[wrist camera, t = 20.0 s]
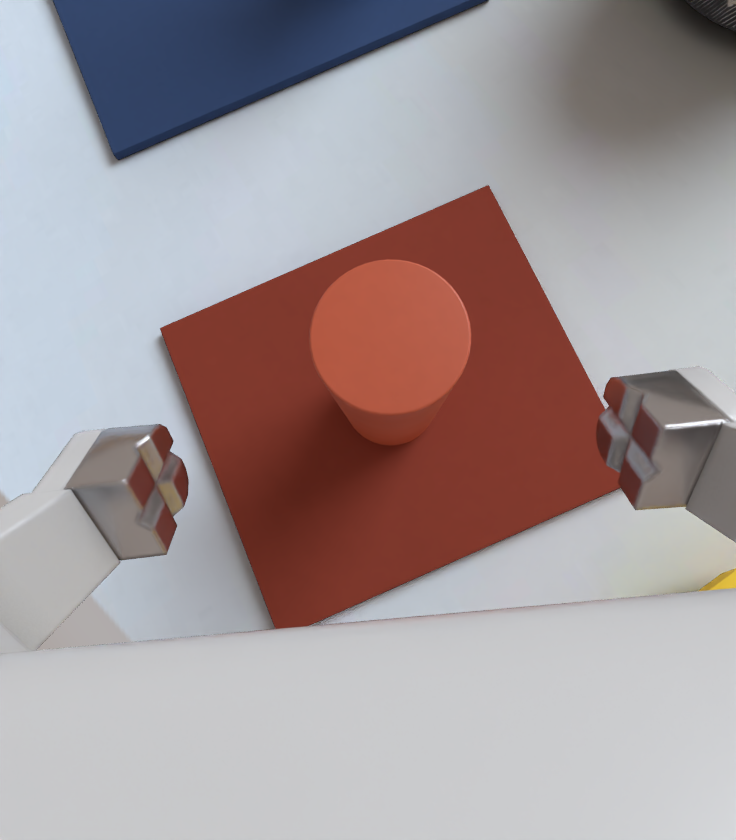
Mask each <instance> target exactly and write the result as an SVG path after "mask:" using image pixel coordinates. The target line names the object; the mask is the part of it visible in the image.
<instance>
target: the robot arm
mask: <svg viewBox="0 0 736 840" xmlns="http://www.w3.org/2000/svg"><path fill="white" fill-rule="evenodd" d="M603 397H604V399H605V400H606V402H607V403H608V405H609V407H608V408H607V409H606V410H605V411H604V412H603V413H602V414H601V415H600V416H599V417H598V422H597V427H596V441H597V447H598V450H599V453H600V455H601V457H602V459H603V460H604V462H605V464H606V465H607V466H609V467H610V468H612V469H614V470H616V471H618V472H620V476H619V479H618V484H619V486H620V487H621V489H622V490H623V492H624V493H625V495H626V497H627V498H628V500H629V501H630V503H631V504H632V506H633V507H634V509H635V510H644V509H658V508H673V507H686V508H685V509H686V510H688V511H689V512H691V513H692V514H694V515H695V516H697V517H698V518H700V519H701V520H703V521H704V522H706V523H707V524H709V525H710V526H712V527H713V528H715V529H716V530H718V531H719V532H721V533H722V534H724V535H725V536H727V537H728V538H730V539H731V540H733V541H734V542H736V393H735V392H734V391H733V390H732V389H731V388H729V387H728V386H727V385H726V384H725V383H724V382H722V381H721V380H720V379H719V378H718V377H717V376H715V375H714V374H713V373H712V372H711V371H710V370H708V369H706V368H703V367H700V366H695V367H688V368H681V369H673V370H669V371H663V372H654V373H646V374H637V375H628V376H620V377H611V378H610V380H609V382H608V383H607V385H606V388H605V392H604V396H603ZM172 444H173V439H172V437H171V435H170V433H169V431H168V429H167V428H166V427H164V426H163V425H161V424H155V425H143V426H131V427H119V428H108V429H97V430H87V431H81V432H79V433H76V434H74V435H73V437H72V438H71V439H70V441H69V442H68V444H67V445H66V446H65V448H64V449H63V450H62V452H61V453H60V454H59V456H58V457H57V458H56V460H55V461H54V463H53V464H52V465H51V467H50V468H49V469H48V471H47V472H46V473H45V475H44V476H43V478H42V479H41V480H40V482H39V483H38V484H37V486H36V487H35V488H34V490H33V491H32V493H27V494H22V495H20V496H18V497H17V498H15V499H14V500H12V501H10V502H9V503H7V504H6V505H4V506H3V507H1V508H0V840H736V588H729V589H718V590H707V591H696V592H684V593H673V594H662V595H651V596H640V597H629V598H618V599H607V600H595V601H584V602H573V603H562V604H551V605H540V606H529V607H518V608H507V609H495V610H484V611H473V612H462V613H450V614H439V615H428V616H417V617H405V618H394V619H383V620H371V621H360V622H349V623H338V624H326V625H315V626H304V627H292V628H281V629H270V630H259V631H248V632H236V633H225V634H214V635H203V636H191V637H180V638H169V639H158V640H147V641H135V642H124V643H114V644H102V645H91V646H80V647H68V648H57V649H47V650H37V649H38V648H39V647H40V646H41V645H42V644H43V643H44V642H45V641H46V640H47V639H48V637H49V636H50V635H51V634H52V633H53V632H54V631H55V630H56V629H57V628H58V627H59V626H60V625H61V624H62V623H63V622H64V621H65V620H66V619H67V618H68V617H69V616H70V614H72V612H73V611H74V610H75V609H76V608H77V607H78V606H79V605H80V604H81V603H82V602H83V601H84V600H85V599H86V598H87V597H88V596H89V595H90V594H91V593H92V592H93V591H94V590H95V589H96V588H97V587H98V586H99V584H100V583H101V582H102V581H103V580H104V579H105V578H106V577H107V576H108V575H109V574H110V573H111V572H112V571H113V570H114V569H115V568H116V567H117V566H118V565H119V564H120V561H119V560H127V559H136V558H144V557H152V556H160V555H166V554H167V552H168V549H169V546H170V543H171V541H172V538H173V535H174V533H175V530H176V527H177V524H176V522H175V520H174V518H173V516H174V515H175V514H176V513H178V512H179V511H180V510H181V509H182V508H183V507H184V505H185V502H186V499H187V496H188V476H187V471H186V468H185V466H184V463H183V461H182V459H181V458H179V457H178V456H176V455H175V454H173V453H172V452H170V449H171V446H172Z"/></svg>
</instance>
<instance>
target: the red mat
mask: <svg viewBox="0 0 736 840" xmlns="http://www.w3.org/2000/svg"><path fill="white" fill-rule="evenodd" d="M387 259H389V260H403V261H409V262H413V263H416V264H419V265H422V266H424V267H427V268H429V269H430V270H432V271H434V272H435V273H437V274H438V275H440V276H441V277H442V278H444V279H445V280H446V281H447V282H448V283H449V284H450V285H451V286H452V287H453V289H454V290H455V291H456V292H457V294H458V295H459V297H460V299H461V300H462V302H463V304H464V306H465V309H466V311H467V314H468V317H469V321H470V327H471V347H470V354H469V357H468V361H467V364H466V366H465V368H464V371H463V373H462V375H461V376H460V378H459V379H458V381H457V383H456V384H455V386H454V387H453V389H452V390H451V392H450V393H449V395H448V397H447V398H446V400H445V401H444V403H443V404H442V406H441V408H440V409H439V411H438V412H437V414H436V415H435V417H434V418H433V420H432V422H431V423H430V425H429V426H428V428H427V429H426V430H425V431H424V432H423V433H422V434H421V435H420V436H418V437H417V438H415V439H414V440H412V441H410V442H407V443H404V444H400V445H393V446H389V445H381V444H377V443H374V442H372V441H369V440H367V439H366V438H364V437H363V436H362V435H360V434H359V433H358V432H357V431H356V430H355V429H354V427H353V426H352V424H351V423H350V421H349V420H348V418H347V417H346V415H345V414H344V413H343V411H342V410H341V408H340V407H339V405H338V404H337V402H336V401H335V399H334V398H333V396H332V395H331V393H330V392H329V390H328V389H327V387H326V386H325V384H324V383H323V381H322V380H321V379H320V377H319V375H318V373H317V371H316V369H315V366H314V363H313V361H312V357H311V352H310V344H309V334H310V325H311V320H312V317H313V314H314V311H315V308H316V306H317V304H318V302H319V300H320V299H321V297H322V296H323V294H324V293H325V291H326V290H327V289H328V288H329V287H330V286H331V285H332V284H333V283H334V282H335V281H336V280H337V279H338V278H339V277H341V276H342V275H343V274H345V273H346V272H348V271H350V270H352V269H353V268H355V267H357V266H360V265H363V264H365V263H369V262H373V261H378V260H387ZM160 330H161V333H162V335H163V338H164V340H165V343H166V346H167V348H168V351H169V353H170V356H171V359H172V361H173V364H174V366H175V369H176V372H177V374H178V377H179V379H180V382H181V385H182V387H183V390H184V392H185V395H186V398H187V400H188V403H189V405H190V408H191V411H192V413H193V416H194V418H195V421H196V424H197V426H198V429H199V431H200V434H201V437H202V439H203V442H204V444H205V447H206V450H207V452H208V455H209V457H210V460H211V463H212V465H213V468H214V470H215V473H216V476H217V478H218V481H219V483H220V486H221V489H222V491H223V494H224V496H225V499H226V502H227V504H228V507H229V509H230V512H231V515H232V517H233V520H234V522H235V525H236V528H237V530H238V533H239V535H240V538H241V541H242V543H243V546H244V548H245V551H246V554H247V556H248V559H249V561H250V564H251V567H252V569H253V572H254V574H255V577H256V580H257V582H258V585H259V587H260V590H261V593H262V595H263V598H264V600H265V603H266V606H267V608H268V611H269V613H270V616H271V619H272V621H273V624H274V626H275V629H281V628H292V627H304V626H309V625H311V624H314V623H316V622H318V621H320V620H323V619H325V618H327V617H329V616H332V615H334V614H336V613H338V612H341V611H343V610H345V609H347V608H350V607H352V606H354V605H357V604H359V603H361V602H363V601H366V600H368V599H370V598H372V597H375V596H377V595H379V594H381V593H384V592H386V591H388V590H390V589H393V588H395V587H397V586H399V585H402V584H404V583H406V582H408V581H411V580H413V579H415V578H418V577H420V576H422V575H424V574H427V573H429V572H431V571H433V570H436V569H438V568H440V567H442V566H445V565H447V564H449V563H451V562H454V561H456V560H458V559H460V558H463V557H465V556H467V555H469V554H472V553H474V552H476V551H478V550H481V549H483V548H485V547H488V546H490V545H492V544H494V543H497V542H499V541H501V540H503V539H506V538H508V537H510V536H512V535H515V534H517V533H519V532H521V531H524V530H526V529H528V528H530V527H533V526H535V525H537V524H539V523H542V522H544V521H546V520H549V519H551V518H553V517H555V516H558V515H560V514H562V513H564V512H567V511H569V510H571V509H573V508H576V507H578V506H580V505H582V504H585V503H587V502H589V501H591V500H594V499H596V498H598V497H600V496H603V495H605V494H607V493H609V492H612V491H614V490H616V489H619V488H621V487H620V486H619V484H618V479H619V476H620V472H618V471H616V470H614V469H612V468H610V467H609V466H607V465H606V464H605V462H604V460H603V459H602V457H601V455H600V453H599V450H598V447H597V441H596V427H597V422H598V417H599V416H600V415H601V414H602V413H603V412H604V411H605V408H604V406H603V404H602V403H601V401H600V399H599V397H598V395H597V393H596V391H595V389H594V387H593V385H592V383H591V381H590V379H589V378H588V376H587V374H586V372H585V370H584V368H583V366H582V364H581V362H580V360H579V358H578V356H577V354H576V353H575V351H574V349H573V347H572V345H571V343H570V341H569V339H568V337H567V335H566V333H565V331H564V329H563V327H562V326H561V324H560V322H559V320H558V318H557V316H556V314H555V312H554V310H553V308H552V306H551V304H550V302H549V301H548V299H547V297H546V295H545V293H544V291H543V289H542V287H541V285H540V283H539V281H538V279H537V277H536V276H535V274H534V272H533V270H532V268H531V266H530V264H529V262H528V260H527V258H526V256H525V254H524V252H523V251H522V249H521V247H520V245H519V243H518V241H517V239H516V237H515V235H514V233H513V231H512V229H511V227H510V226H509V224H508V222H507V220H506V218H505V216H504V214H503V212H502V210H501V208H500V206H499V204H498V202H497V200H496V199H495V197H494V195H493V193H492V191H491V189H490V187H489V185H488V186H485V187H483V188H481V189H478V190H476V191H474V192H472V193H469V194H467V195H465V196H462V197H460V198H458V199H456V200H453V201H451V202H449V203H446V204H444V205H442V206H439V207H437V208H435V209H433V210H430V211H428V212H426V213H423V214H421V215H419V216H417V217H414V218H412V219H410V220H407V221H405V222H403V223H400V224H398V225H396V226H394V227H391V228H389V229H387V230H384V231H382V232H380V233H378V234H375V235H373V236H371V237H368V238H366V239H364V240H361V241H359V242H357V243H355V244H352V245H350V246H348V247H345V248H343V249H341V250H339V251H336V252H334V253H332V254H329V255H327V256H325V257H322V258H320V259H318V260H316V261H313V262H311V263H309V264H306V265H304V266H302V267H299V268H297V269H295V270H293V271H290V272H288V273H286V274H283V275H281V276H279V277H277V278H274V279H272V280H270V281H267V282H265V283H263V284H260V285H258V286H256V287H254V288H251V289H249V290H247V291H244V292H242V293H240V294H238V295H235V296H233V297H231V298H228V299H226V300H224V301H221V302H219V303H217V304H215V305H212V306H210V307H208V308H205V309H203V310H201V311H199V312H196V313H194V314H192V315H189V316H187V317H185V318H182V319H180V320H178V321H176V322H173V323H171V324H169V325H166V326H164V327H162V328H160Z"/></svg>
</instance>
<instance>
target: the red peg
mask: <svg viewBox="0 0 736 840" xmlns="http://www.w3.org/2000/svg"><path fill="white" fill-rule="evenodd" d="M309 344H310V352H311V357H312V361H313V363H314V366H315V369H316V371H317V373H318V375H319V377H320V379H321V380H322V381H323V383H324V384H325V386H326V387H327V389H328V390H329V392H330V393H331V395H332V396H333V398H334V399H335V401H336V402H337V404H338V405H339V407H340V408H341V410H342V411H343V413H344V414H345V415H346V417H347V418H348V420H349V421H350V423H351V424H352V426H353V427H354V429H355V430H356V431H357V432H358V433H359V434H360V435H362V436H363V437H364V438H366V439H367V440H369V441H372V442H374V443H377V444H381V445H389V446H393V445H400V444H404V443H407V442H410V441H412V440H414V439H415V438H417V437H418V436H420V435H421V434H422V433H423V432H424V431H425V430H426V429H427V428H428V426H429V425H430V423H431V422H432V420H433V418H434V417H435V415H436V414H437V412H438V411H439V409H440V408H441V406H442V404H443V403H444V401H445V400H446V398H447V397H448V395H449V393H450V392H451V390H452V389H453V387H454V386H455V384H456V383H457V381H458V379H459V378H460V376H461V375H462V373H463V371H464V368H465V366H466V364H467V361H468V357H469V354H470V347H471V327H470V321H469V317H468V314H467V311H466V309H465V306H464V304H463V302H462V300H461V299H460V297H459V295H458V294H457V292H456V291H455V290H454V289H453V287H452V286H451V285H450V284H449V283H448V282H447V281H446V280H445V279H444V278H442V277H441V276H440V275H438V274H437V273H435V272H434V271H432V270H430V269H429V268H427V267H424V266H422V265H419V264H416V263H413V262H409V261H403V260H389V259H387V260H378V261H373V262H369V263H365V264H363V265H360V266H357V267H355V268H353V269H352V270H350V271H348V272H346V273H345V274H343V275H342V276H341V277H339V278H338V279H337V280H336V281H335V282H334V283H333V284H332V285H331V286H330V287H329V288H328V289H327V290H326V291H325V293H324V294H323V296H322V297H321V299H320V300H319V302H318V304H317V306H316V308H315V311H314V314H313V317H312V320H311V325H310V334H309Z"/></svg>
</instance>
